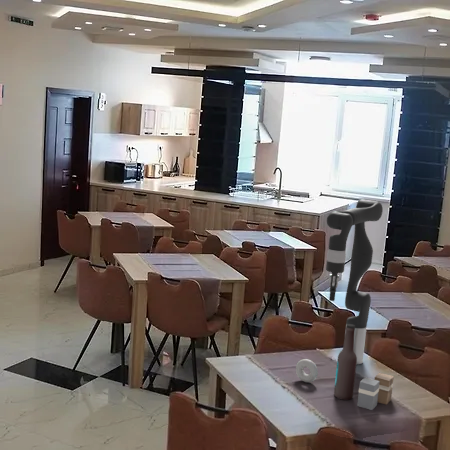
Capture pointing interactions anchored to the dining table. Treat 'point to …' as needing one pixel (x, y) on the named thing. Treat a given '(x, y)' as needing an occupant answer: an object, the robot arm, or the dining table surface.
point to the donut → (312, 368)
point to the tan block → (384, 387)
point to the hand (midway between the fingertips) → (331, 300)
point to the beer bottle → (346, 367)
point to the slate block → (368, 393)
